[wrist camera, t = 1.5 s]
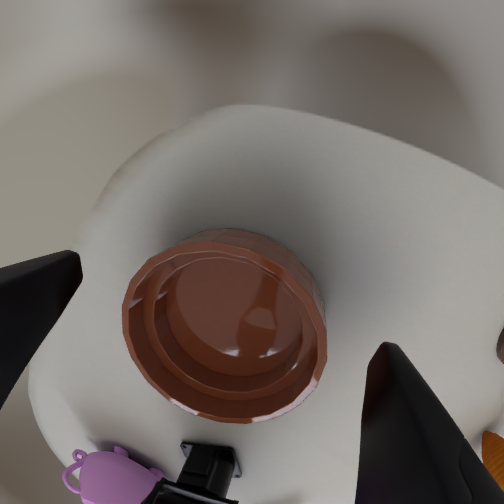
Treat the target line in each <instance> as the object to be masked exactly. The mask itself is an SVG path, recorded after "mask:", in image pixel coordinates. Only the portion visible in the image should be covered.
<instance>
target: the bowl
mask: <svg viewBox="0 0 504 504" xmlns="http://www.w3.org/2000/svg"><path fill="white" fill-rule="evenodd" d="M122 328H123V335H124V338H125V341H126V344H127V347H128V350H129V353H130V356H131V358H132V360H133V361H134V363H135V364H136V366H137V367H138V369H139V370H140V372H141V373H142V375H143V376H144V378H145V379H146V380H147V382H148V383H149V384H151V385H152V386H153V387H154V388H155V389H156V390H157V391H158V392H159V393H160V394H161V395H163V396H164V397H165V398H166V399H167V400H169V401H170V402H172V403H174V404H175V405H177V406H179V407H181V408H183V409H184V410H186V411H188V412H190V413H193V414H194V415H197V416H201V417H204V418H207V419H211V420H214V421H217V422H224V423H241V424H247V423H254V422H259V421H264V420H269V419H274V418H276V417H278V416H280V415H282V414H284V413H286V412H288V411H290V410H292V409H293V408H295V407H297V406H299V405H300V404H301V403H302V402H303V401H304V399H305V398H306V397H307V396H308V395H309V394H310V393H311V392H312V391H313V390H314V389H315V388H316V386H317V384H318V382H319V380H320V377H321V375H322V372H323V369H324V367H325V364H326V362H327V331H326V322H325V314H324V306H323V300H322V298H321V295H320V293H319V291H318V288H317V286H316V283H315V281H314V279H313V276H312V275H311V273H310V272H309V271H308V270H307V269H306V268H305V266H304V265H303V264H302V263H301V262H300V261H299V260H298V259H297V258H296V257H295V255H294V254H293V253H292V252H291V251H290V250H288V249H286V248H284V247H283V246H281V245H279V244H277V243H276V242H274V241H272V240H270V239H269V238H267V237H265V236H263V235H261V234H257V233H252V232H247V231H242V230H238V229H233V228H231V229H230V228H228V229H219V230H210V231H202V232H199V233H197V234H195V235H193V236H191V237H189V238H187V239H185V240H183V241H181V242H179V243H177V244H175V245H173V246H171V247H169V248H168V249H166V250H164V251H162V252H160V253H158V254H157V255H155V256H153V257H151V258H150V259H148V260H147V261H146V263H145V264H144V265H143V266H142V267H141V268H140V270H139V271H138V272H137V273H136V274H135V275H134V277H133V278H132V279H131V281H130V283H129V286H128V289H127V292H126V295H125V298H124V301H123V304H122Z"/></svg>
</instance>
